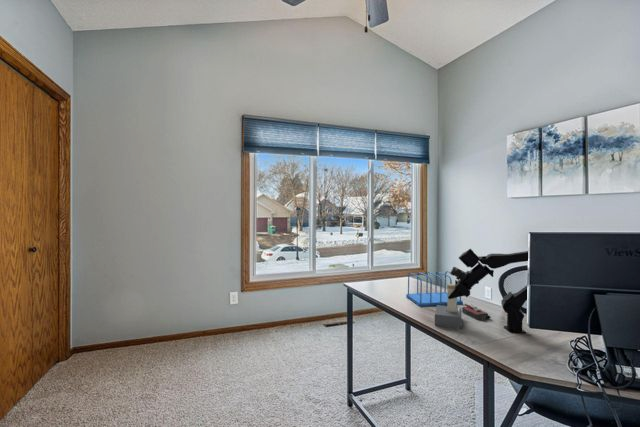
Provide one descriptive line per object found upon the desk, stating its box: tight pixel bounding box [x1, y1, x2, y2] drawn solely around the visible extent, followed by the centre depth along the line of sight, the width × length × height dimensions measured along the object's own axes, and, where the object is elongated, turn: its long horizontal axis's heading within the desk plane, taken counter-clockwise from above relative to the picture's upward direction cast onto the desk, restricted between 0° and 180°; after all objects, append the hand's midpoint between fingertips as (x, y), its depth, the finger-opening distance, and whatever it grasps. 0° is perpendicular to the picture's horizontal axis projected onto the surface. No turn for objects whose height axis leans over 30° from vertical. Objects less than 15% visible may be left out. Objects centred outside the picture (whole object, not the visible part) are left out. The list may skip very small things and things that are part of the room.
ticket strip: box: [446, 283, 458, 313], centre depth 149 cm, size 4×1×13 cm, turn 67°
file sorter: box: [405, 270, 464, 307], centre depth 182 cm, size 25×17×15 cm
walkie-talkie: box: [461, 303, 492, 321], centre depth 161 cm, size 9×4×20 cm
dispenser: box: [434, 305, 463, 330], centre depth 150 cm, size 11×14×6 cm
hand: (448, 296), depth 149 cm, fingers open, 4 cm apart
